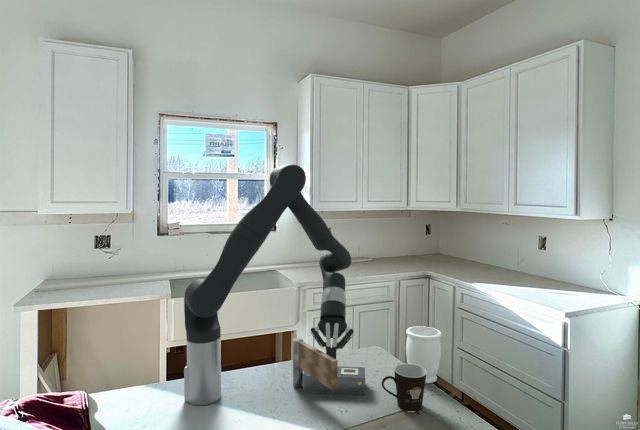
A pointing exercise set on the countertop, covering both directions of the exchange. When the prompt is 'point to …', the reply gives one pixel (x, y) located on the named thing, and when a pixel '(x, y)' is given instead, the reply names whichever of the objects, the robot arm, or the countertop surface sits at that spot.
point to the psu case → (339, 382)
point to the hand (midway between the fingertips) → (330, 362)
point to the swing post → (297, 378)
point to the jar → (424, 349)
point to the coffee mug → (408, 386)
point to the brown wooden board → (315, 363)
